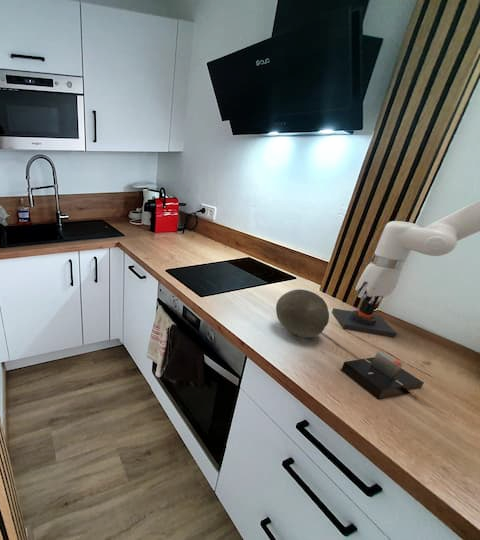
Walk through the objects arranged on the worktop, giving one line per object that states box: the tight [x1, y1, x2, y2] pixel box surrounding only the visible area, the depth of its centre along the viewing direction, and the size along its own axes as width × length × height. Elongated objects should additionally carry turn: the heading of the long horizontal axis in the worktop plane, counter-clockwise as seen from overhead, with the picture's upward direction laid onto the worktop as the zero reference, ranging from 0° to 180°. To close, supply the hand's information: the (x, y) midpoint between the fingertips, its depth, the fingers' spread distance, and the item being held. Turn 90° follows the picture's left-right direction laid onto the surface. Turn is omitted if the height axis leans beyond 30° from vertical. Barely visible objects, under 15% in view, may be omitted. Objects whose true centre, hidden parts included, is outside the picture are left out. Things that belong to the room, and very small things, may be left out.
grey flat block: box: [331, 307, 398, 339], centre depth 96 cm, size 14×11×5 cm
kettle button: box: [358, 311, 374, 319], centre depth 95 cm, size 4×4×2 cm
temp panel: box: [340, 356, 425, 400], centre depth 74 cm, size 13×10×3 cm
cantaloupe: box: [275, 288, 330, 338], centre depth 90 cm, size 14×14×15 cm
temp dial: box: [371, 350, 403, 379], centre depth 73 cm, size 5×2×5 cm, turn 12°
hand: (365, 312), depth 95 cm, fingers closed
